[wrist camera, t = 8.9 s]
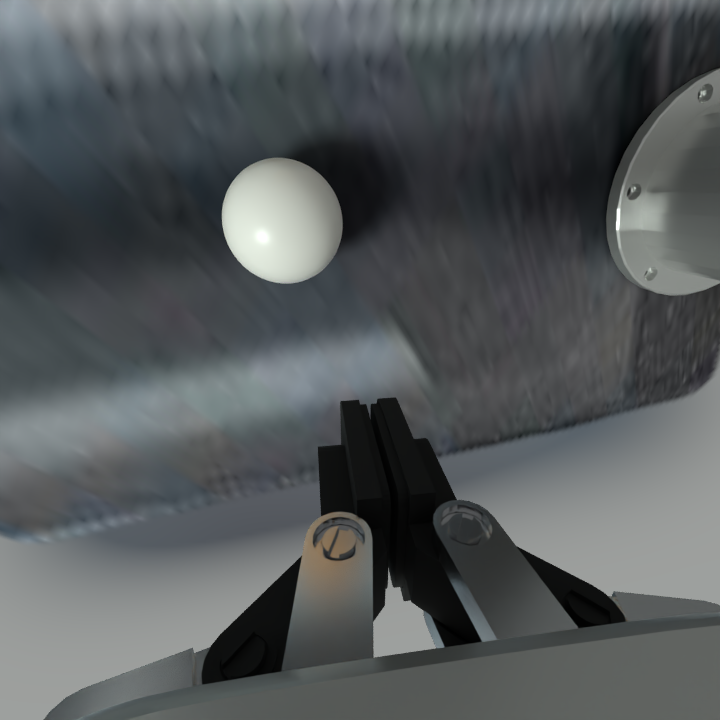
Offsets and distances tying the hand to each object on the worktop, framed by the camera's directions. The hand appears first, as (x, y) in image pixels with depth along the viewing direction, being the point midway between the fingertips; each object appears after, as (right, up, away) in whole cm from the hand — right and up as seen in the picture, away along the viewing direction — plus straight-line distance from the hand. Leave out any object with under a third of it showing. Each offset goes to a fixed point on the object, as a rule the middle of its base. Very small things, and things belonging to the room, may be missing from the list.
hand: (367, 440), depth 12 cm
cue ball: (-4, +9, +6) cm, 12 cm away
